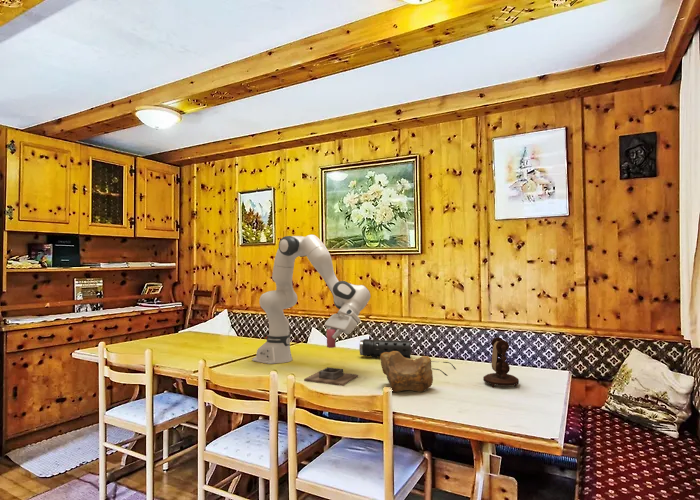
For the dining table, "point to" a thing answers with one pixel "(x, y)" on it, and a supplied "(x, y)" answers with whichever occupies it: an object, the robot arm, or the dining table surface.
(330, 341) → the candle
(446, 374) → the eyeglasses
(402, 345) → the muzzle brake
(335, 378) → the candle board
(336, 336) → the robot arm
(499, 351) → the dark brown ornamental stand
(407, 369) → the rough brown rock
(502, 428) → the dining table surface
